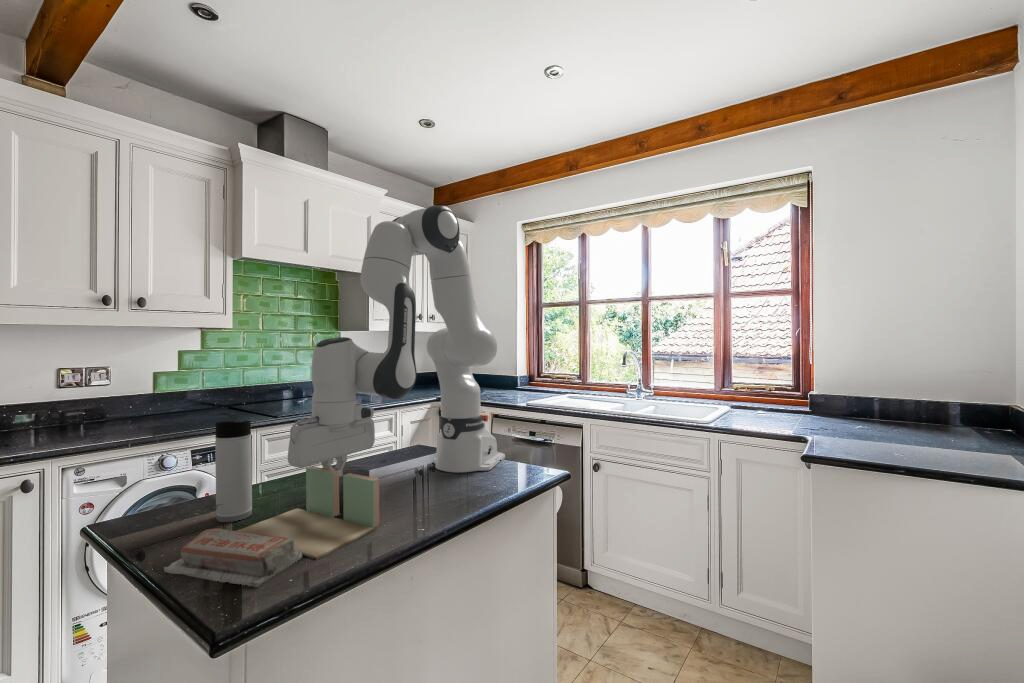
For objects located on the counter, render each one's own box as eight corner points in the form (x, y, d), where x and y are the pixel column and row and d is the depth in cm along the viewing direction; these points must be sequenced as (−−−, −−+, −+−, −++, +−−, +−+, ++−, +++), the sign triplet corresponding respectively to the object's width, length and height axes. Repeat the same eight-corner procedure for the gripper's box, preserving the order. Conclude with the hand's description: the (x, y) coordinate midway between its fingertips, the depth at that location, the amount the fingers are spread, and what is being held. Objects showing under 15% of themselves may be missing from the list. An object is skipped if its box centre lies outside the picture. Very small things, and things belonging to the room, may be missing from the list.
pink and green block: (349, 517, 94) (349, 473, 94) (379, 524, 90) (379, 478, 90) (343, 520, 93) (343, 475, 92) (373, 527, 89) (373, 481, 89)
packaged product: (304, 530, 77) (256, 558, 67) (305, 559, 77) (257, 591, 68) (218, 519, 82) (162, 544, 72) (218, 546, 82) (162, 575, 72)
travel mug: (209, 524, 91) (208, 422, 90) (224, 512, 97) (223, 416, 97) (243, 522, 92) (242, 421, 91) (256, 510, 98) (255, 415, 98)
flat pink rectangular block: (312, 508, 99) (312, 466, 99) (339, 514, 95) (338, 471, 95) (306, 510, 98) (305, 468, 98) (333, 517, 94) (332, 473, 94)
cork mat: (297, 509, 98) (297, 508, 98) (374, 530, 88) (374, 527, 88) (235, 533, 87) (235, 531, 87) (316, 559, 76) (316, 556, 76)
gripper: (301, 422, 89) (301, 495, 89) (379, 408, 107) (379, 468, 107) (280, 419, 92) (280, 489, 92) (359, 406, 110) (359, 464, 110)
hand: (334, 478), depth 99 cm, fingers closed
